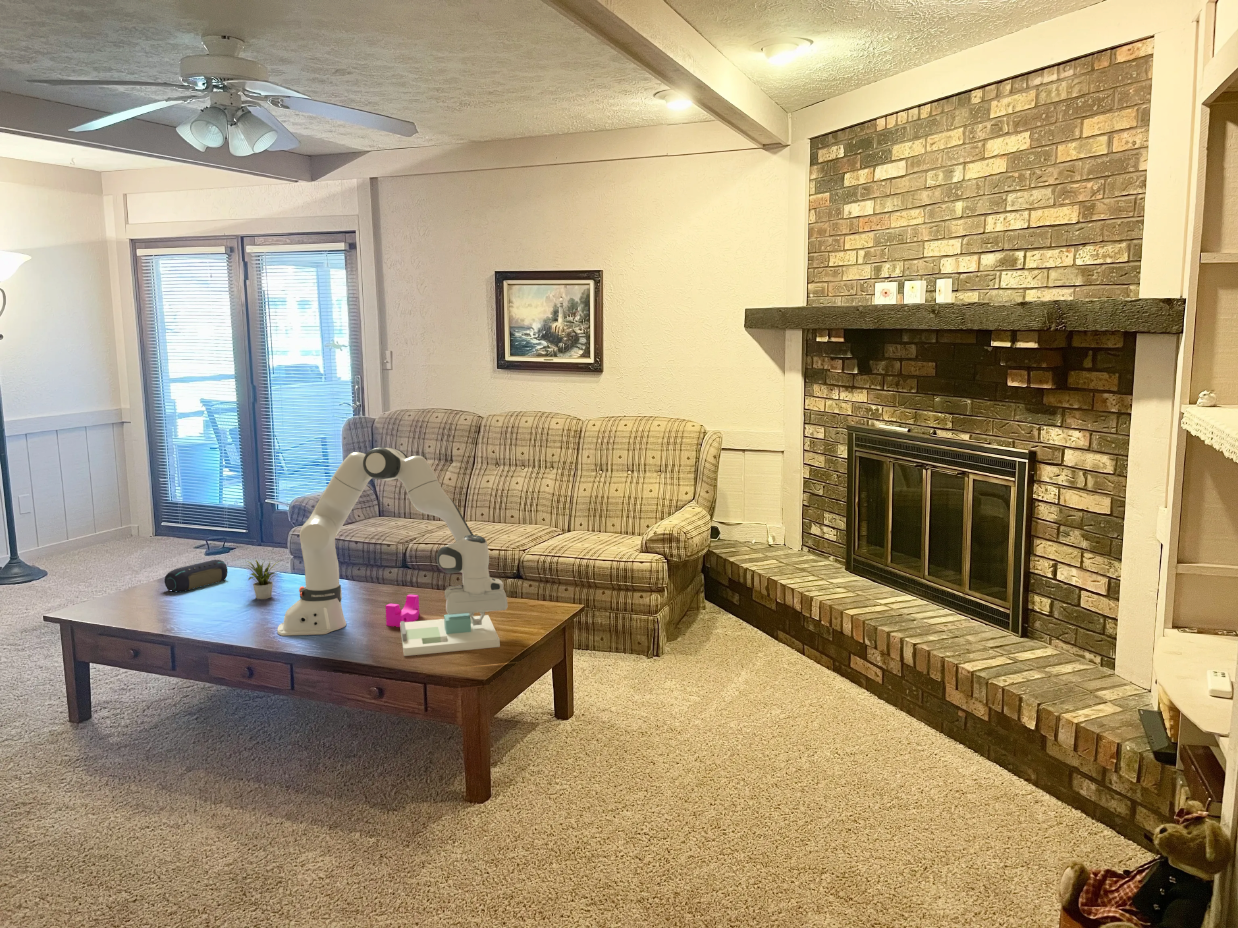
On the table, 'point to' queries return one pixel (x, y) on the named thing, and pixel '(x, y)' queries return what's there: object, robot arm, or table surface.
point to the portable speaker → (196, 575)
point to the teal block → (457, 623)
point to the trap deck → (446, 637)
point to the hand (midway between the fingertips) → (477, 624)
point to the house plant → (262, 581)
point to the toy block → (403, 611)
